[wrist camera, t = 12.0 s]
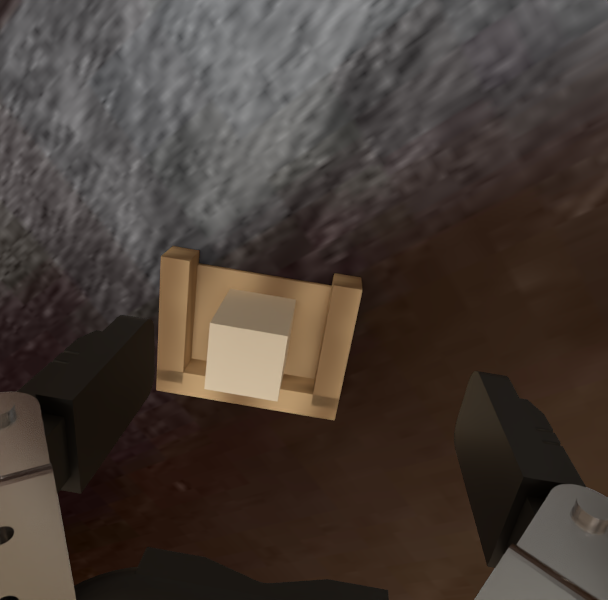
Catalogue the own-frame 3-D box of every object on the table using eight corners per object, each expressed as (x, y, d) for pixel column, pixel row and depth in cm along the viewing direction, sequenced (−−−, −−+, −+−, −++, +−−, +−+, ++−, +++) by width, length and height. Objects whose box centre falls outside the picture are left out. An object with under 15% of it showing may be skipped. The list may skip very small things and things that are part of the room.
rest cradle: (361, 277, 35) (362, 290, 33) (334, 401, 39) (334, 420, 37) (172, 246, 35) (160, 256, 33) (167, 373, 40) (156, 390, 37)
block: (296, 299, 36) (287, 336, 30) (286, 357, 38) (277, 401, 32) (230, 288, 36) (209, 323, 30) (224, 346, 38) (204, 388, 32)
